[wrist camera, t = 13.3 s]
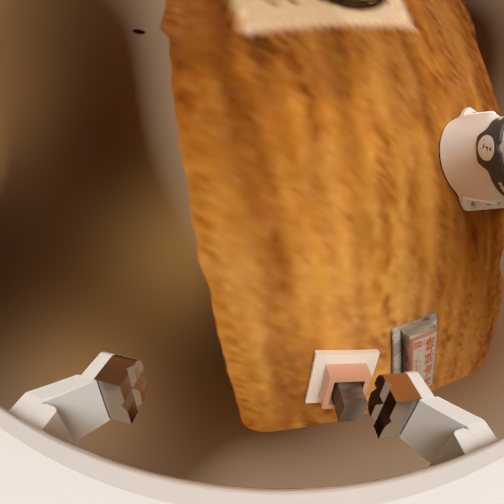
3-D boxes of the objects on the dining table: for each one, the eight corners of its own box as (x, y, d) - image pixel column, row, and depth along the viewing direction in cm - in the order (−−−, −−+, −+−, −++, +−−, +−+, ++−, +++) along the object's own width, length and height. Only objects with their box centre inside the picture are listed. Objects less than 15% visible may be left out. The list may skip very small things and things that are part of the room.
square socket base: (377, 349, 46) (387, 365, 41) (361, 396, 49) (368, 413, 44) (314, 350, 47) (319, 367, 42) (304, 398, 50) (307, 417, 45)
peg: (354, 371, 46) (367, 403, 37) (349, 387, 47) (361, 419, 38) (334, 371, 46) (344, 405, 38) (329, 387, 47) (338, 421, 39)
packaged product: (399, 340, 41) (447, 321, 40) (389, 326, 46) (434, 310, 44) (397, 409, 45) (439, 391, 44) (390, 394, 50) (430, 378, 49)
